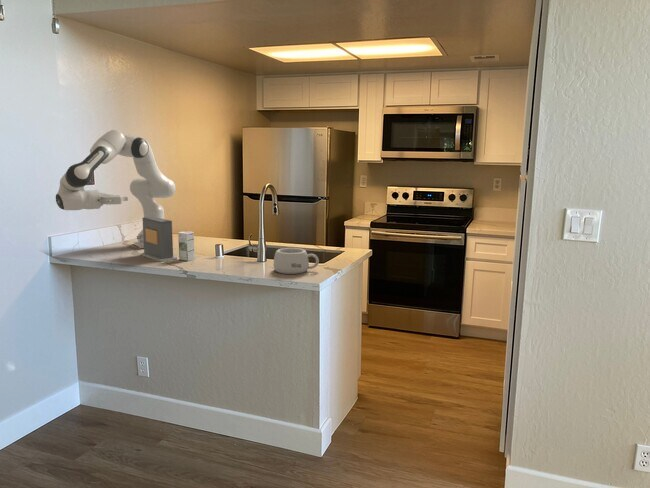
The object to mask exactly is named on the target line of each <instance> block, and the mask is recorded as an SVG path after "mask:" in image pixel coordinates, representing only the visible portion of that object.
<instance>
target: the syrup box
mask: <svg viewBox="0 0 650 488" xmlns="http://www.w3.org/2000/svg"><path fill="white" fill-rule="evenodd" d="M177 235H178V254H179V255H178V257H179V259H178V260H179V261H185V262H190V261H193V260H195V259H196V258H195V257H196V256H195V233H194V231H187V230H182V231H180V232H179V231H178V232H177Z"/></svg>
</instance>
